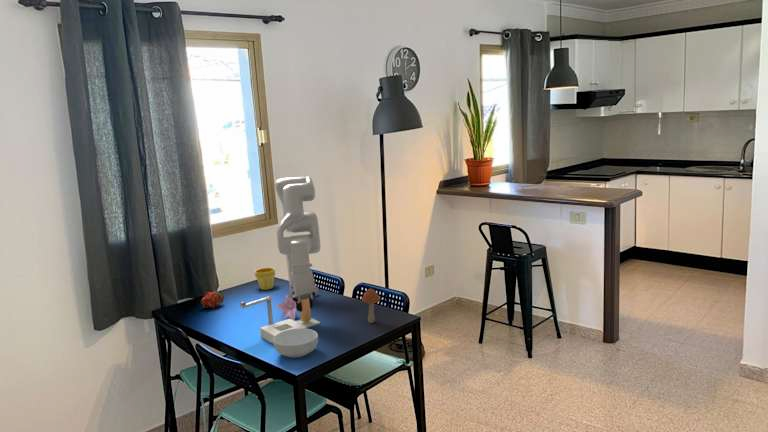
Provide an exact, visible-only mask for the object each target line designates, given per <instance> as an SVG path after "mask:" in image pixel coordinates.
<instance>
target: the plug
mask: <svg viewBox="0 0 768 432" xmlns="http://www.w3.org/2000/svg"><path fill="white" fill-rule="evenodd" d="M300 303H301V305H302V312H300V311H299V317H300V318H299V320H301V321H302V322H307V321H310V320H311V318H312V314H311V308H310V300H309V293H308V294H304V295H302V296H301V298H300Z"/></svg>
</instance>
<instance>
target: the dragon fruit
mask: <svg viewBox="0 0 768 432" xmlns="http://www.w3.org/2000/svg"><path fill="white" fill-rule="evenodd" d="M224 299H225V298H224V294H223V293H221V291H215V290H212V291H210V292H209V291H207V292H206V294H204V295H203V297H202V299H201V301H199V304H200V305H202V307H203V308H205V309H206V308H207V309H210V308H212V309H215V308H216V307H219V306H220V304H223V302H224Z"/></svg>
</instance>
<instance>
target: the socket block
mask: <svg viewBox="0 0 768 432" xmlns="http://www.w3.org/2000/svg"><path fill="white" fill-rule="evenodd" d="M266 308H267V317H268V325H264V326H262V327H260V328H259V330H260V337H261V338H263V340H265V341H267V342H269V343H270V344H273V338H274V336H275V335H277V334H278V333H280V332H283V331H286V330H290V329H297V328H305V329H308V328H307V327H306V326H304V325H302V324H300V323H298V322H296V321H297V320H292V319H291V318H288V319H284V320H281V321H278V322H275V323H274V317H273V307H272V300H268V301H266Z"/></svg>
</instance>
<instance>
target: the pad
mask: <svg viewBox="0 0 768 432" xmlns="http://www.w3.org/2000/svg"><path fill="white" fill-rule="evenodd" d="M295 321H296V322H298V323H300V324H302V325H304V326H306V327H307V329H309V328H310V327H311V328H312V327H313V326H316V325H320V324H321V321H319V320H316V319H314V318H312V317H311V320H310V321H307V322H302V321H301V320H300V319H299V320H295Z"/></svg>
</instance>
